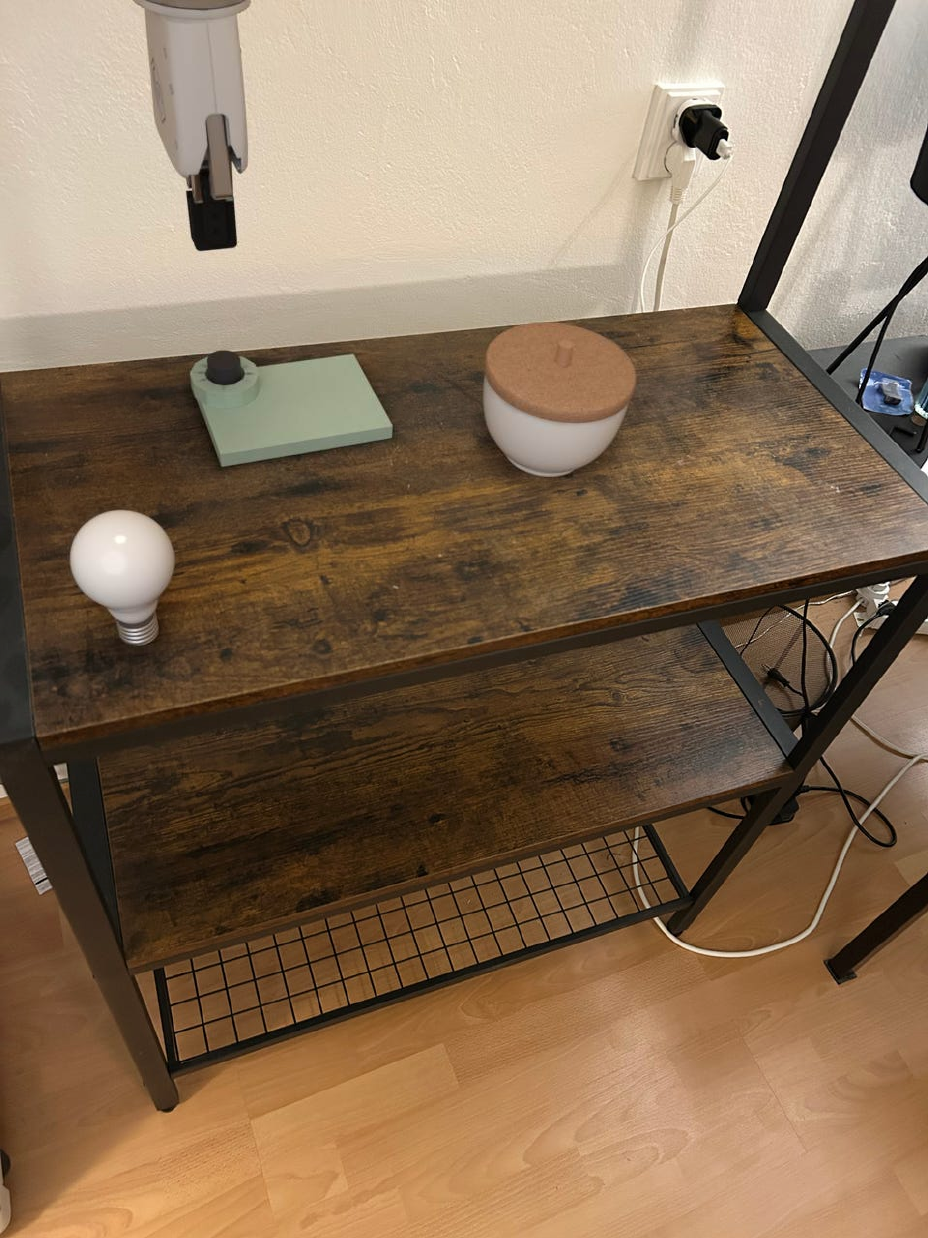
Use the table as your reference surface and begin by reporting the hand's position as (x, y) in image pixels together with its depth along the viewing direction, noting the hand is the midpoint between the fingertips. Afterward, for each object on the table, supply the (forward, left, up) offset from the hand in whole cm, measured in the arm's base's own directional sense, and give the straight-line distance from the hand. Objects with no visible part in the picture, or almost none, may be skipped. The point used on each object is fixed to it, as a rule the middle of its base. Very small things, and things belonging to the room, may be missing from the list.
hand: (214, 243), depth 75 cm
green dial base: (+5, -3, -15) cm, 16 cm away
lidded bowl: (+25, -14, -15) cm, 32 cm away
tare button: (0, 0, -12) cm, 12 cm away
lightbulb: (-12, -25, -15) cm, 31 cm away
